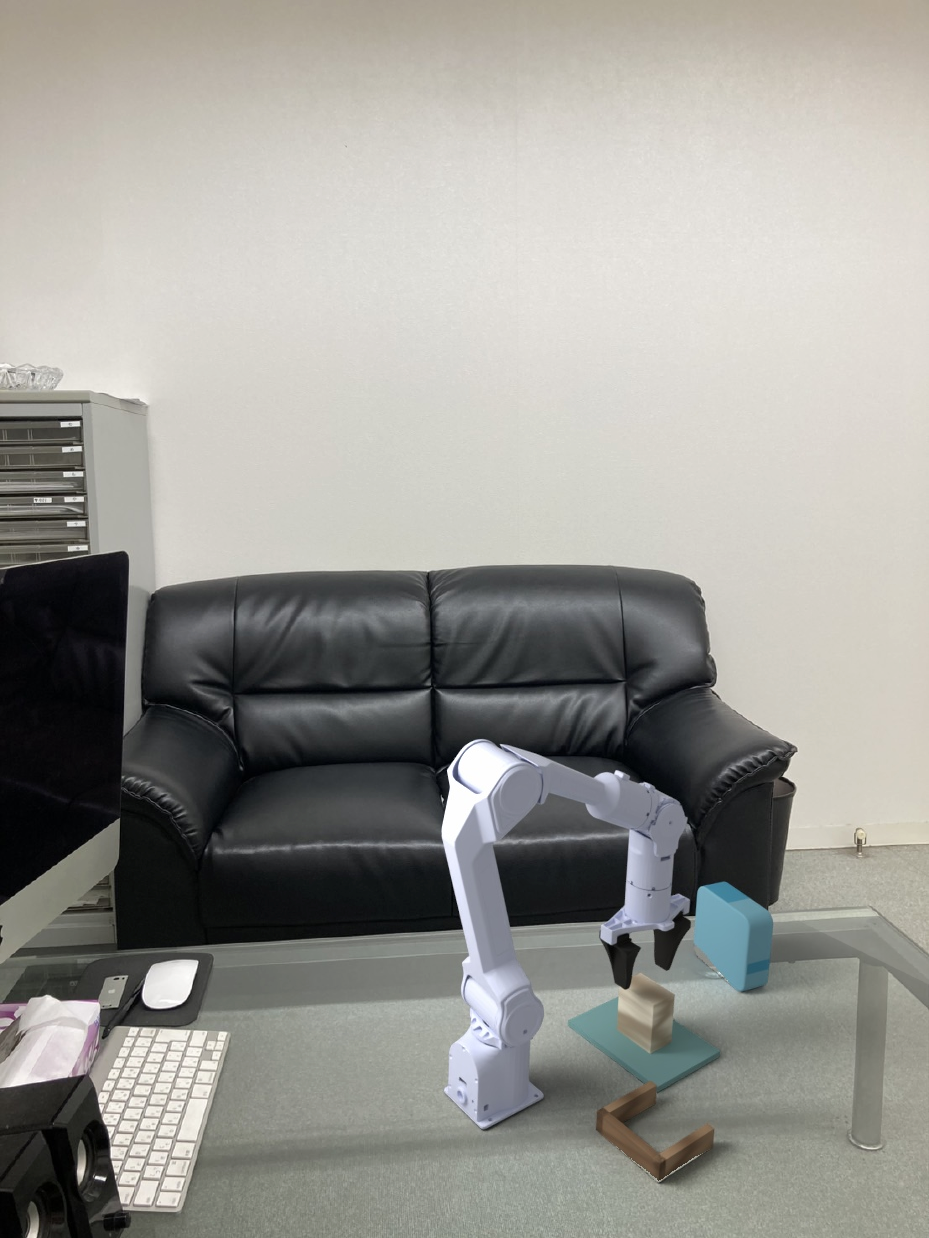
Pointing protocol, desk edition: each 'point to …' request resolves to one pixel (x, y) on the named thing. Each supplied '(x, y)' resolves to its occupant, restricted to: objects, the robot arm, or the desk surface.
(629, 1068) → the slate-teal mat
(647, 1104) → the frame
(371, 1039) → the desk surface
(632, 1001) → the ash blank
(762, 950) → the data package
